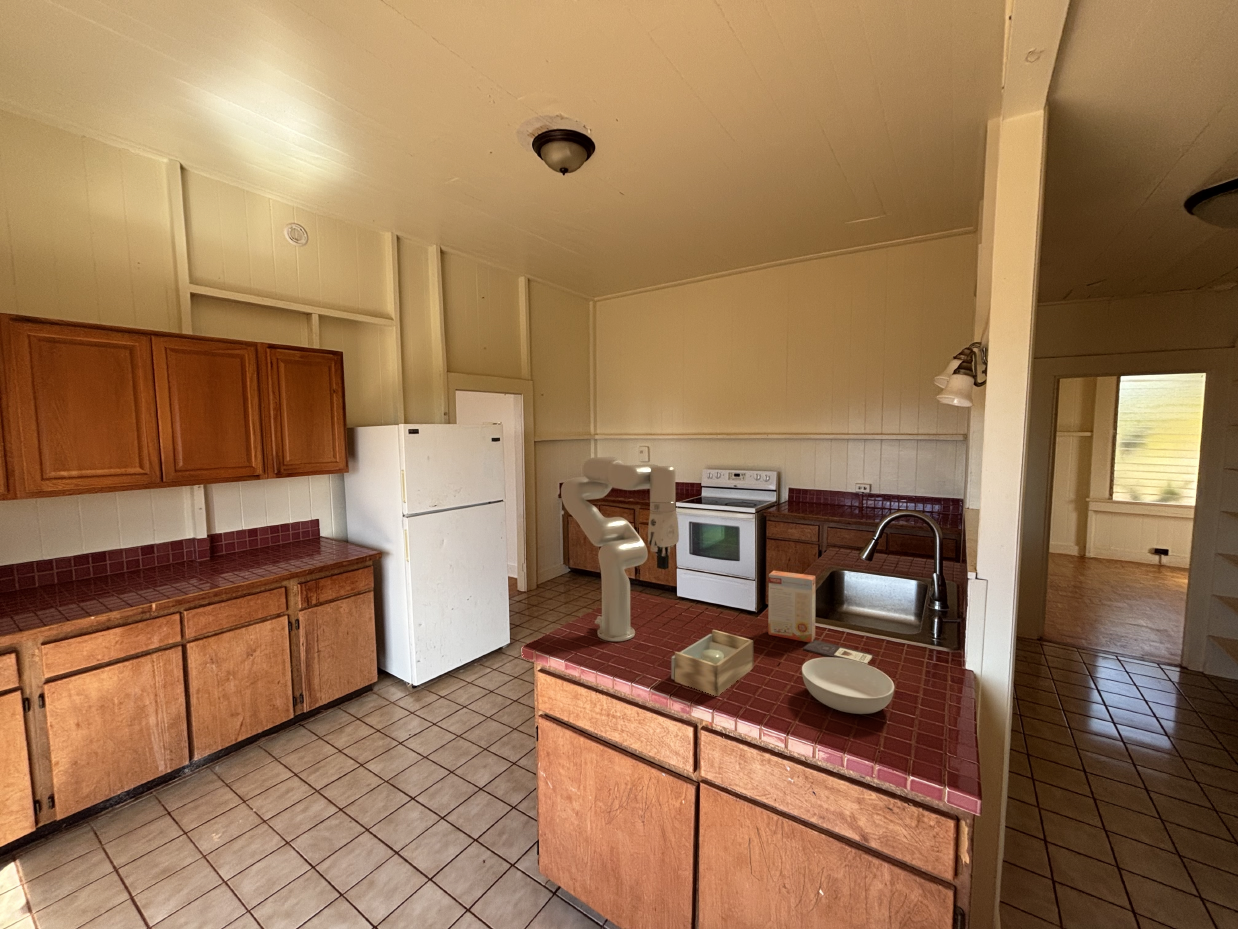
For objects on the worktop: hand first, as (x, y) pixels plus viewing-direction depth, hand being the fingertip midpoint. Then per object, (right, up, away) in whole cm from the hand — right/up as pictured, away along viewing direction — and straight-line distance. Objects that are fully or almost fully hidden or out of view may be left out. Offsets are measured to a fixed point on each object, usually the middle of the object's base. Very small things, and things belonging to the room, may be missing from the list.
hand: (662, 568), depth 148 cm
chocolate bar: (+54, -27, +3) cm, 61 cm away
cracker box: (+44, -26, +16) cm, 54 cm away
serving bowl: (+43, -28, -25) cm, 58 cm away
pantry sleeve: (+13, -28, -10) cm, 32 cm away
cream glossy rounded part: (+13, -26, -10) cm, 31 cm away
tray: (+13, -28, -10) cm, 32 cm away
